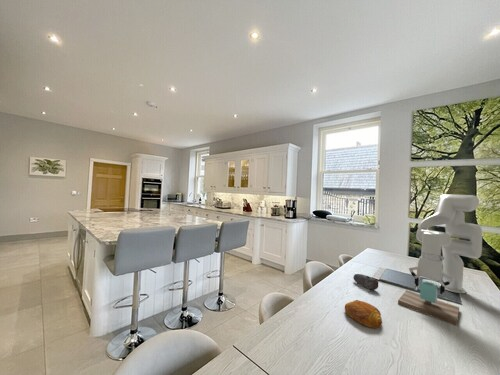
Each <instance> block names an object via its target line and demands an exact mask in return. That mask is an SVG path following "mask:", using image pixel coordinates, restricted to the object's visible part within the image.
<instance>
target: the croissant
mask: <svg viewBox="0 0 500 375" xmlns="http://www.w3.org/2000/svg"><path fill="white" fill-rule="evenodd" d="M344 312H345V313H346V314H347V315H348V316H349V317H350V318H352V319H354V320H355V321H356V322H357V323H359V324H362V325H363V326H366V327H368V328H373V329H378V328H380V327H381V326H382V324H383V320H382V317H381V315H382V314H381V311H380V310H379V309H378V308H377V307H376V306H375V305H372V304H371V303H368V302H366V301H362V300H358V299H356V300H353V301H350V302H347V303H345V305H344Z"/></svg>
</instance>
